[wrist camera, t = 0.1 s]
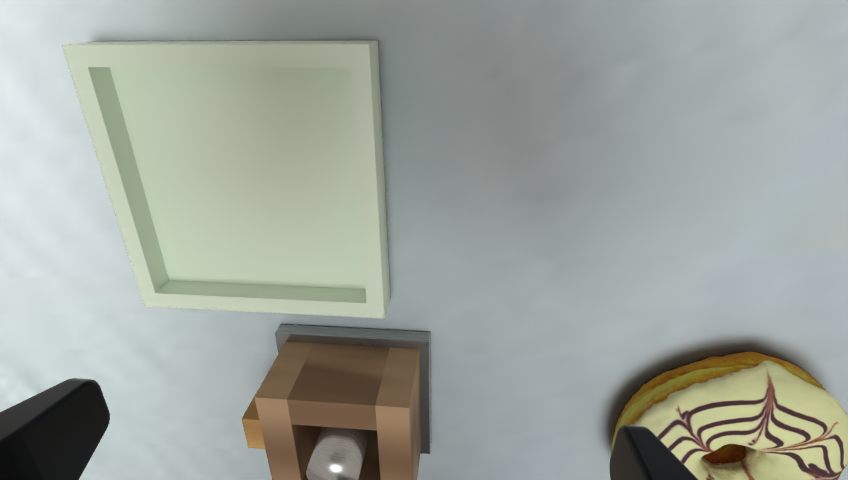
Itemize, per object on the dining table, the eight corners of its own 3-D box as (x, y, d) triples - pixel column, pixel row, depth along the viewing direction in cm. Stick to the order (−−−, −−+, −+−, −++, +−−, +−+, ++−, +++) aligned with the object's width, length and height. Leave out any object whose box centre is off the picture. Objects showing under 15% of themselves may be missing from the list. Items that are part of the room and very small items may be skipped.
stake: (431, 442, 29) (420, 539, 24) (299, 432, 30) (261, 524, 24) (430, 332, 25) (417, 417, 20) (280, 324, 26) (231, 404, 21)
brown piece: (421, 446, 28) (412, 512, 24) (277, 436, 29) (248, 498, 25) (419, 349, 25) (409, 407, 21) (258, 340, 26) (222, 395, 22)
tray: (390, 297, 25) (384, 318, 23) (164, 286, 26) (144, 306, 24) (378, 40, 19) (368, 44, 18) (94, 41, 20) (61, 45, 19)
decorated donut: (859, 427, 26) (918, 492, 22) (676, 509, 30) (702, 575, 26) (751, 303, 23) (798, 355, 20) (566, 412, 27) (579, 471, 24)
